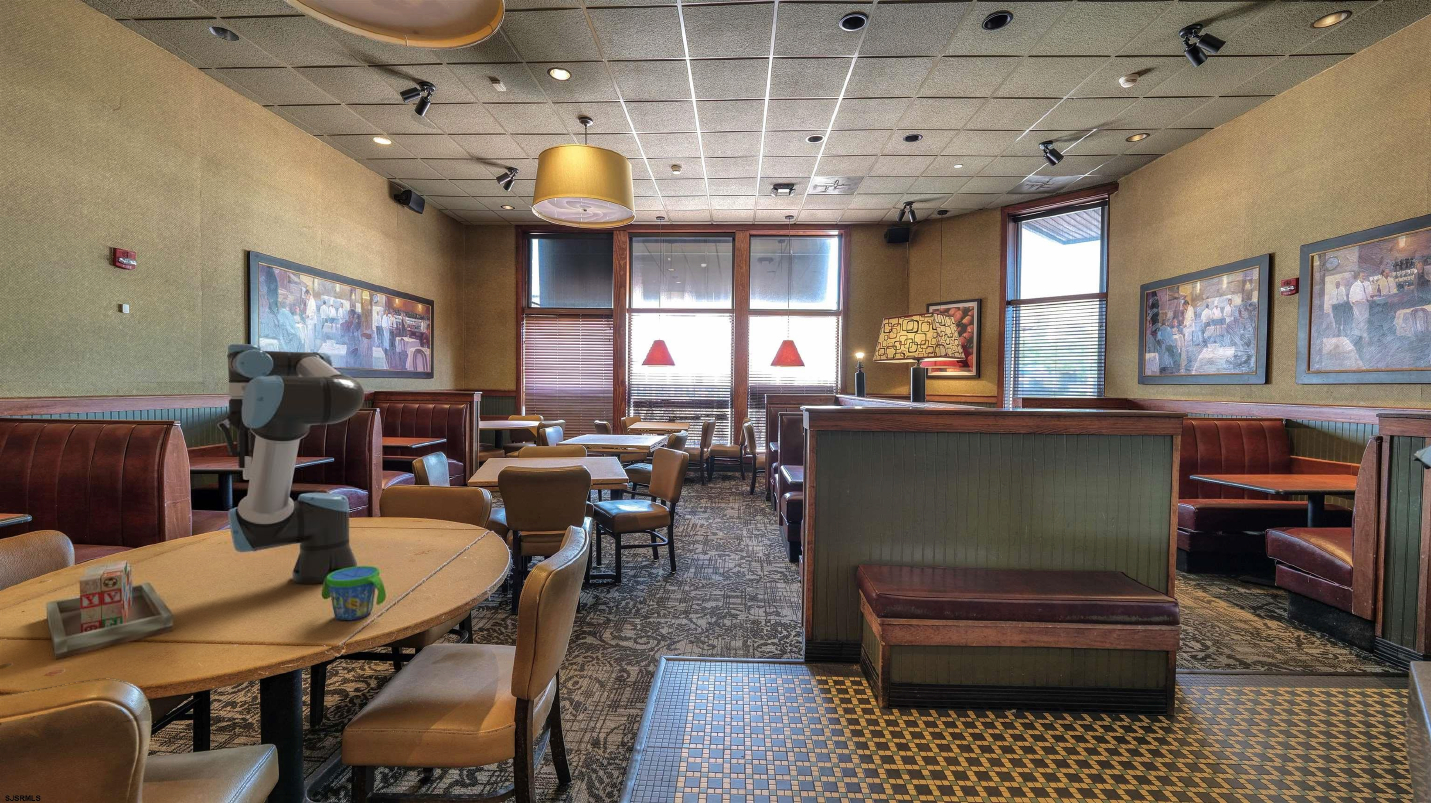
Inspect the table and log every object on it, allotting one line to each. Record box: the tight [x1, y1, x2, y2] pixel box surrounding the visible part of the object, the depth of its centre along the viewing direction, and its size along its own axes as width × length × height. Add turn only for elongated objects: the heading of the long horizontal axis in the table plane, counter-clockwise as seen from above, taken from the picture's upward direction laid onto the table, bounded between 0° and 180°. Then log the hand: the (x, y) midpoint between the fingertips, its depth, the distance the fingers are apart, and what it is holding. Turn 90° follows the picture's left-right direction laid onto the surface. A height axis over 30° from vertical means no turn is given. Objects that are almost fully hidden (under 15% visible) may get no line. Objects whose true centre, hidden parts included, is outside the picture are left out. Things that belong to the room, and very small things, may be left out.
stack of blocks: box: [78, 559, 133, 633], centre depth 130 cm, size 21×6×12 cm, turn 41°
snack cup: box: [321, 565, 387, 621], centre depth 135 cm, size 16×10×10 cm
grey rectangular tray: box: [45, 582, 174, 660], centre depth 129 cm, size 17×31×4 cm, turn 52°
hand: (247, 478), depth 166 cm, fingers closed
